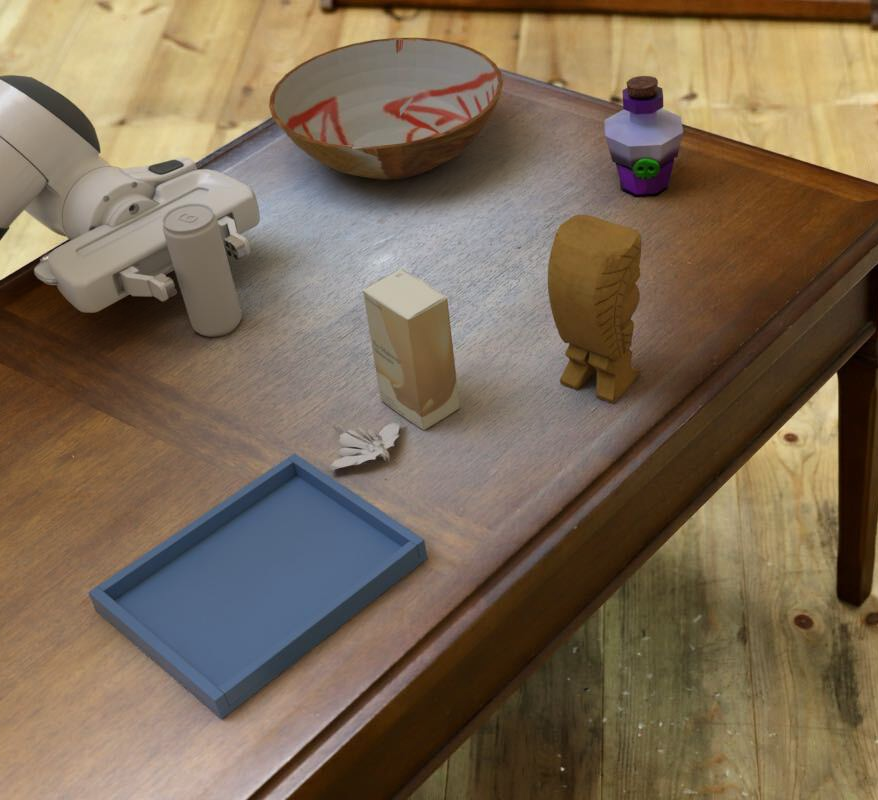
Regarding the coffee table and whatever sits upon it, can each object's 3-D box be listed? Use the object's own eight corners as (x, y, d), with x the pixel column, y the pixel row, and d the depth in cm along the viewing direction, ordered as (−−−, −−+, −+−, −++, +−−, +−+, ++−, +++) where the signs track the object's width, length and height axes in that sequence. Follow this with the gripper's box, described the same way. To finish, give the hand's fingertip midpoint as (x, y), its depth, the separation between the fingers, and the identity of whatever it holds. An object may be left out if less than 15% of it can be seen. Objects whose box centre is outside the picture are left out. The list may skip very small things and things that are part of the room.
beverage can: (218, 345, 128) (188, 237, 120) (180, 330, 130) (148, 222, 122) (253, 318, 131) (226, 210, 123) (216, 303, 133) (187, 197, 125)
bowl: (267, 221, 144) (251, 154, 139) (299, 105, 163) (286, 42, 158) (507, 208, 144) (500, 141, 139) (511, 94, 163) (505, 30, 158)
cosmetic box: (378, 401, 121) (357, 287, 113) (417, 377, 123) (398, 264, 115) (425, 433, 117) (407, 319, 109) (464, 409, 120) (448, 294, 112)
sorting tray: (221, 719, 95) (215, 700, 94) (95, 610, 103) (87, 592, 102) (428, 558, 106) (424, 539, 105) (299, 471, 114) (294, 452, 113)
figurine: (651, 373, 122) (647, 231, 113) (612, 415, 118) (605, 272, 108) (584, 349, 125) (576, 209, 116) (544, 390, 121) (531, 248, 111)
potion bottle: (624, 213, 142) (621, 109, 135) (591, 174, 148) (586, 72, 141) (699, 192, 145) (700, 89, 137) (663, 155, 151) (662, 54, 143)
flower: (299, 463, 117) (290, 437, 115) (370, 415, 121) (362, 389, 120) (354, 491, 112) (345, 464, 110) (426, 440, 116) (419, 413, 115)
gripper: (14, 239, 125) (99, 295, 118) (199, 149, 137) (287, 194, 129) (35, 296, 129) (118, 352, 122) (213, 203, 141) (299, 250, 133)
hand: (207, 270), depth 126 cm, fingers open, 7 cm apart
